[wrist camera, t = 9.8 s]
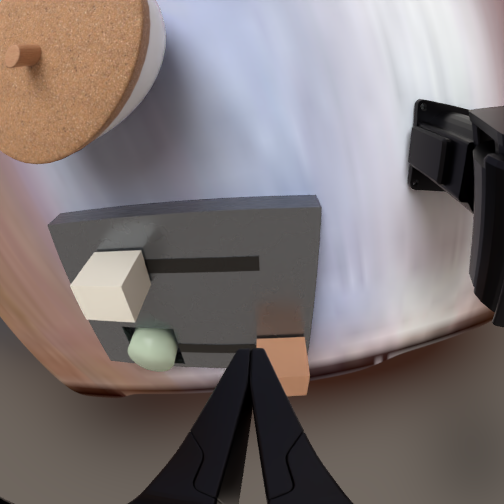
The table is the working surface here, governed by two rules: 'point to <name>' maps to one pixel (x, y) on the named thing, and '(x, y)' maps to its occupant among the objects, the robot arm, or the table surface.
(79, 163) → the table surface
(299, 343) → the slider
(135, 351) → the button
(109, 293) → the slider
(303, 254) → the panel
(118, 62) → the lidded jar
